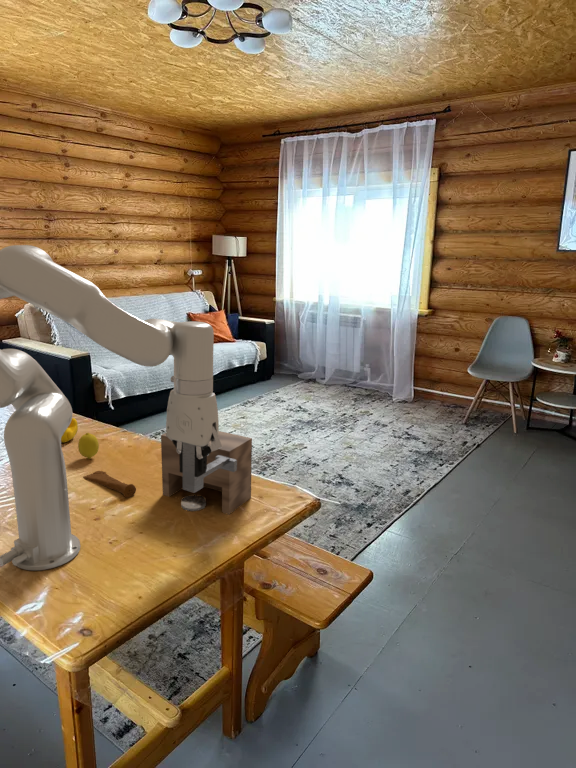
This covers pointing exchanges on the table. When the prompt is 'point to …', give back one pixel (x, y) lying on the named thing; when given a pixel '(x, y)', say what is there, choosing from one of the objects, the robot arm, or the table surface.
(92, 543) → the table surface
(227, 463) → the hoe
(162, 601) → the table surface
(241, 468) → the wooden bridge block
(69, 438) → the duckling
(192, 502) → the steel token
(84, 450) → the lemon
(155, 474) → the table surface
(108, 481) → the primitive tool
